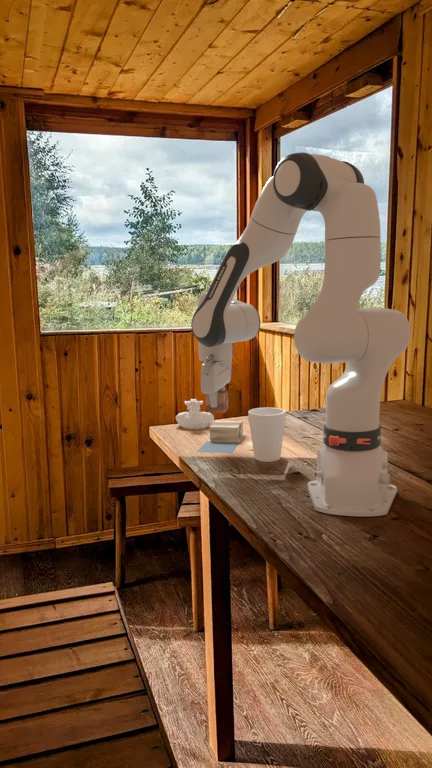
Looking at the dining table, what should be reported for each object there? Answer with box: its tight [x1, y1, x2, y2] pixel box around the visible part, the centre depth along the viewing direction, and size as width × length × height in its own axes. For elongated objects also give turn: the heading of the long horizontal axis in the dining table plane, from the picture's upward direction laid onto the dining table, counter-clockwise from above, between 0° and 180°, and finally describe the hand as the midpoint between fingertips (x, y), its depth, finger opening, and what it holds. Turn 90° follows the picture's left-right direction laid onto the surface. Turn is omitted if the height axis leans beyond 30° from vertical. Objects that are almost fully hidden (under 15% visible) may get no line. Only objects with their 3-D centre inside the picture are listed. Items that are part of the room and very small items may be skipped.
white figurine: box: [175, 398, 215, 430], centre depth 185 cm, size 12×8×11 cm
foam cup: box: [247, 407, 287, 463], centre depth 151 cm, size 10×9×13 cm
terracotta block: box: [204, 390, 229, 414], centre depth 160 cm, size 5×5×5 cm
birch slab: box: [209, 419, 244, 442], centre depth 172 cm, size 8×8×4 cm
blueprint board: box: [196, 433, 247, 454], centre depth 167 cm, size 20×10×1 cm, turn 167°
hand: (217, 404), depth 160 cm, fingers closed on terracotta block, 5 cm apart
